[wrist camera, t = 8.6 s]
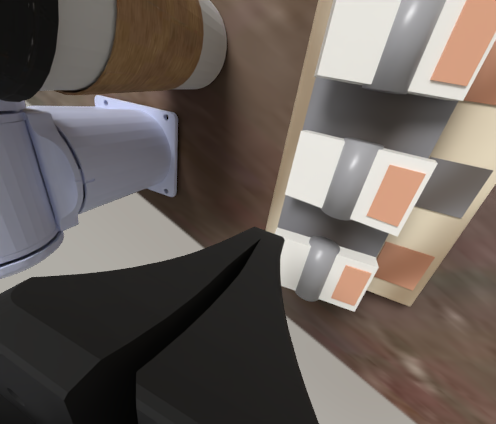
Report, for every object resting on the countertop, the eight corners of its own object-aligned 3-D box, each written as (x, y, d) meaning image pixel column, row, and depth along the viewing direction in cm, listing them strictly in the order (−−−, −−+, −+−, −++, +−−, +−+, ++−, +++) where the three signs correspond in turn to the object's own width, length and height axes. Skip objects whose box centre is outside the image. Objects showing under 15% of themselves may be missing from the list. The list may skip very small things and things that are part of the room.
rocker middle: (293, 190, 15) (281, 197, 13) (310, 128, 13) (298, 128, 12) (397, 227, 12) (396, 242, 11) (435, 156, 10) (440, 162, 9)
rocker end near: (312, 79, 11) (317, 76, 9) (339, -29, 9) (352, -56, 8) (440, 102, 11) (468, 103, 9) (493, -5, 9) (539, -27, 7)
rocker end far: (267, 267, 17) (260, 284, 15) (278, 223, 15) (272, 236, 14) (352, 296, 16) (354, 318, 14) (375, 252, 14) (380, 270, 12)
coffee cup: (255, 88, 17) (-24, 24, 4) (169, 117, 21) (-118, 131, 8) (225, -59, 15) (-660, -1242, 2) (133, 5, 18) (-372, -236, 5)
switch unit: (266, 241, 22) (250, 266, 18) (325, -10, 14) (317, -49, 10) (406, 293, 19) (418, 334, 15) (596, 4, 10) (716, -48, 7)
